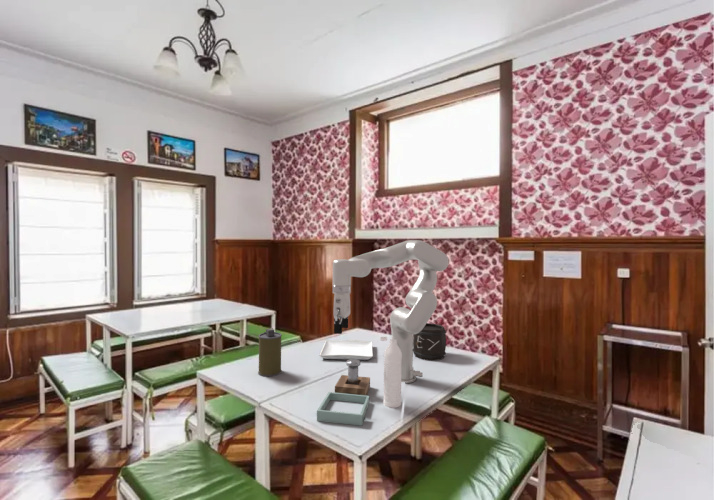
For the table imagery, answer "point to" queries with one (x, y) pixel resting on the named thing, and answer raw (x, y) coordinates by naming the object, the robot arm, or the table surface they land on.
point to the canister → (269, 353)
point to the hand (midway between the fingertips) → (341, 330)
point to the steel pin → (353, 371)
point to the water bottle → (392, 374)
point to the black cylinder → (430, 342)
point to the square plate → (347, 349)
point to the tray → (342, 416)
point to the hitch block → (353, 386)
